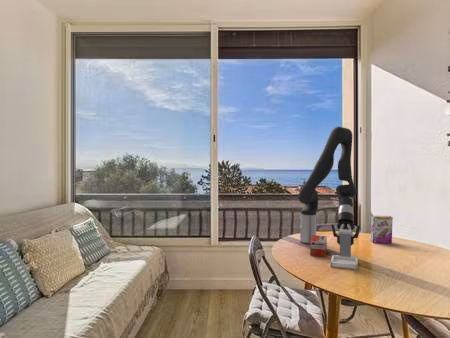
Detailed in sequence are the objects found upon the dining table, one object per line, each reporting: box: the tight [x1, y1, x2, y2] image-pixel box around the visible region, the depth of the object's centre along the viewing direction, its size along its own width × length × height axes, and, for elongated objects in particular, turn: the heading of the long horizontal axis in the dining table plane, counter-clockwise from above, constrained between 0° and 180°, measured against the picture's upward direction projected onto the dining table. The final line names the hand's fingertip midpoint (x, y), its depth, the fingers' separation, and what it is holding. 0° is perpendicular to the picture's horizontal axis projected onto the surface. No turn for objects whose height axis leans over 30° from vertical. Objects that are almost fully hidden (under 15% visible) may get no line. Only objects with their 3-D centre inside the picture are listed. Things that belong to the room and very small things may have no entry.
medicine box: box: [309, 234, 328, 257], centre depth 182 cm, size 15×8×8 cm, turn 161°
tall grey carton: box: [339, 229, 352, 257], centre depth 161 cm, size 5×6×12 cm
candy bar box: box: [370, 214, 393, 244], centre depth 202 cm, size 11×5×16 cm, turn 84°
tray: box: [330, 254, 359, 270], centre depth 161 cm, size 12×13×2 cm
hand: (345, 244), depth 160 cm, fingers closed on tall grey carton, 5 cm apart
